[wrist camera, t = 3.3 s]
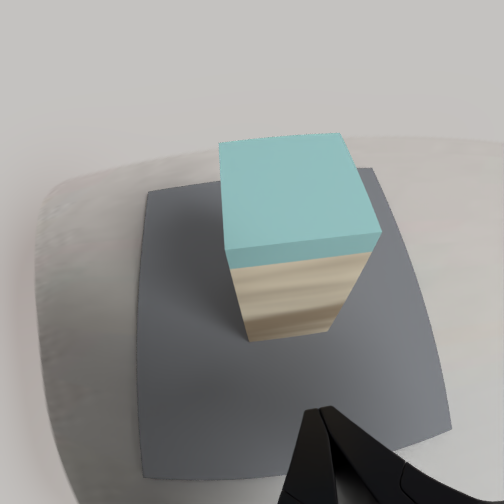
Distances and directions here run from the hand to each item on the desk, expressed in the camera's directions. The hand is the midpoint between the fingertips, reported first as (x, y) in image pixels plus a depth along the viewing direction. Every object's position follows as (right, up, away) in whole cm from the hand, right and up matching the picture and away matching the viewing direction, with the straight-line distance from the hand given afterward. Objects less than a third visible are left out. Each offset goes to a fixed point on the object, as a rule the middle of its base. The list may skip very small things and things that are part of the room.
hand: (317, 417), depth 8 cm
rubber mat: (0, +2, +9) cm, 9 cm away
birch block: (0, +2, +8) cm, 8 cm away
